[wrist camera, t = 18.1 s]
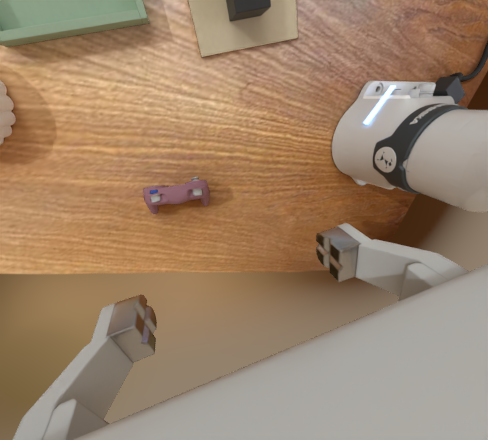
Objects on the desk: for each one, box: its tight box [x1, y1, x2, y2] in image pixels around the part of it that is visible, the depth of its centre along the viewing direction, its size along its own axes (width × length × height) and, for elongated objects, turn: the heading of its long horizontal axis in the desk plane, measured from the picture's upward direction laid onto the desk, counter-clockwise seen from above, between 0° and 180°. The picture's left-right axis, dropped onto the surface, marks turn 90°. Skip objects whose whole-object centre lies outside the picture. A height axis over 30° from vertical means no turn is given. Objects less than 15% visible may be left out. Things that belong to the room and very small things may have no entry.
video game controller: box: [143, 177, 209, 214], centre depth 35 cm, size 10×5×7 cm, turn 93°
